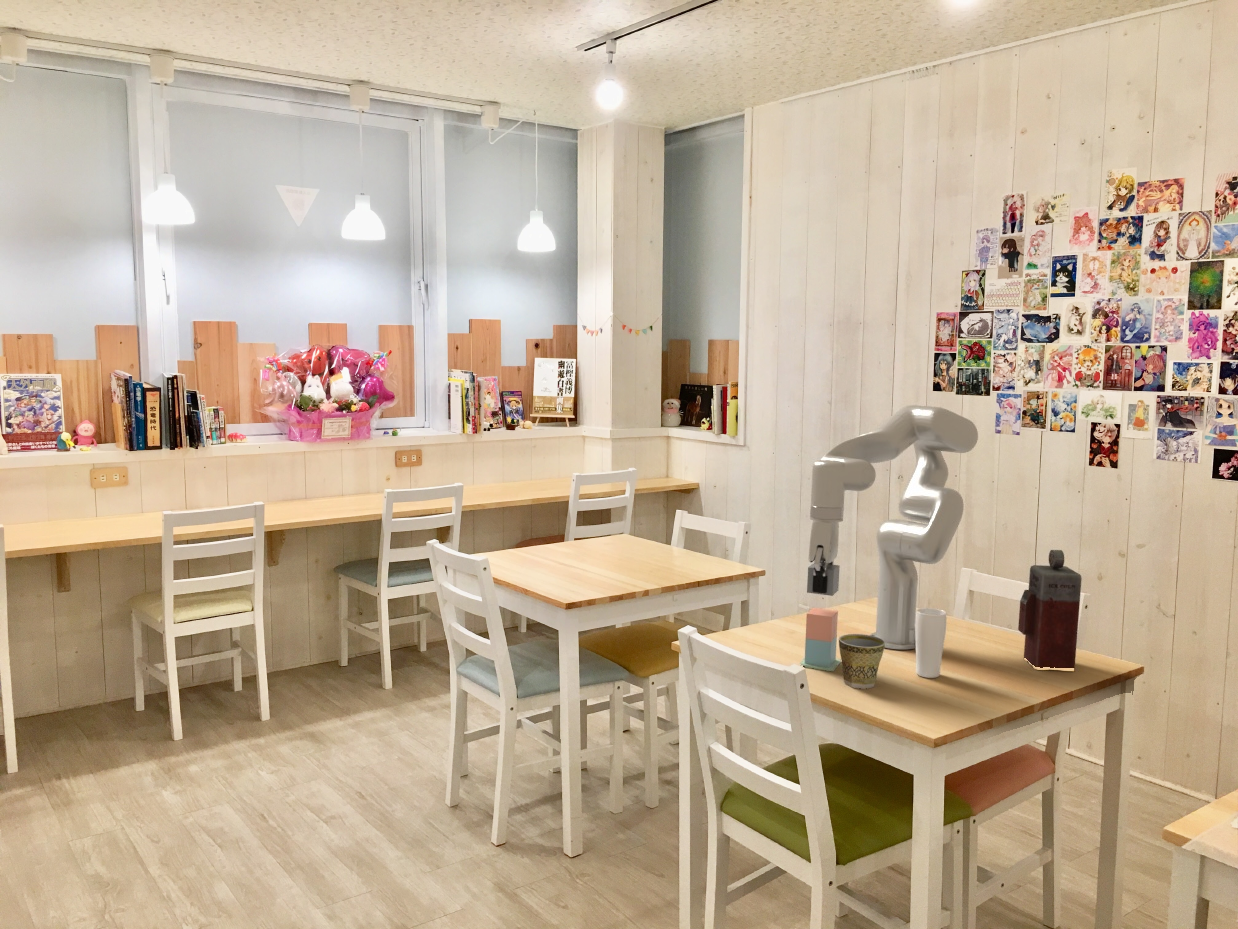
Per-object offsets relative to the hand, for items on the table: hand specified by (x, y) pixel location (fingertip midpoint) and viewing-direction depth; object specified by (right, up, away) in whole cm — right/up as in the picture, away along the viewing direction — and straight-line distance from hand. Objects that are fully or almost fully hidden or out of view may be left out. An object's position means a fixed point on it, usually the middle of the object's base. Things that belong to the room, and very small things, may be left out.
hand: (822, 588), depth 232 cm
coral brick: (0, -12, +2) cm, 12 cm away
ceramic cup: (+6, -20, -9) cm, 23 cm away
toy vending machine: (+54, -19, +5) cm, 57 cm away
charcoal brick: (0, -1, 0) cm, 1 cm away
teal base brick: (0, -17, +2) cm, 18 cm away
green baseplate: (0, -18, +2) cm, 18 cm away
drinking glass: (+23, -20, -4) cm, 31 cm away
